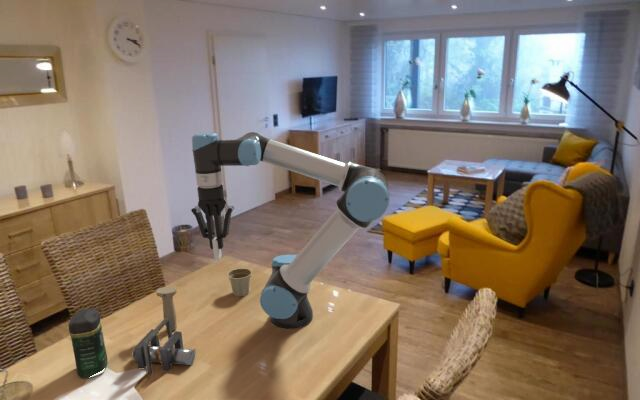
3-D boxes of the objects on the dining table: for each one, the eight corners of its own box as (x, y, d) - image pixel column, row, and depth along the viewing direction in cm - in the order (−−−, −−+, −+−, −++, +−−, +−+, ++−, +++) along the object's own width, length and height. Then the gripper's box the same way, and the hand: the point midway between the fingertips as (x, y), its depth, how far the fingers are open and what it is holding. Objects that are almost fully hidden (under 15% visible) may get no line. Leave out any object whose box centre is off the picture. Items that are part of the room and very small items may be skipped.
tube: (196, 357, 137) (193, 346, 135) (189, 368, 133) (187, 357, 131) (142, 352, 140) (139, 341, 138) (134, 363, 136) (131, 352, 134)
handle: (179, 333, 151) (173, 293, 146) (159, 333, 150) (154, 293, 146) (183, 325, 155) (178, 286, 151) (164, 325, 155) (159, 286, 151)
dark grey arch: (183, 351, 141) (181, 331, 138) (168, 371, 131) (165, 350, 129) (178, 351, 141) (175, 331, 139) (162, 370, 132) (159, 349, 130)
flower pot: (233, 287, 182) (231, 267, 179) (255, 288, 180) (254, 268, 178) (225, 298, 173) (223, 278, 170) (249, 299, 172) (247, 279, 169)
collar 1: (160, 349, 142) (157, 329, 140) (144, 368, 133) (140, 348, 131) (154, 349, 142) (151, 329, 140) (137, 368, 133) (134, 347, 131)
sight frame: (173, 346, 143) (169, 316, 140) (150, 374, 130) (145, 342, 127) (171, 346, 144) (167, 315, 140) (147, 374, 130) (142, 341, 127)
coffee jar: (105, 376, 130) (95, 320, 125) (75, 382, 128) (63, 325, 123) (110, 356, 139) (100, 303, 134) (82, 362, 137) (71, 308, 131)
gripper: (184, 188, 131) (193, 262, 137) (227, 188, 129) (234, 263, 136) (193, 182, 138) (202, 253, 144) (234, 181, 136) (241, 253, 143)
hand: (218, 257), depth 140 cm, fingers closed
